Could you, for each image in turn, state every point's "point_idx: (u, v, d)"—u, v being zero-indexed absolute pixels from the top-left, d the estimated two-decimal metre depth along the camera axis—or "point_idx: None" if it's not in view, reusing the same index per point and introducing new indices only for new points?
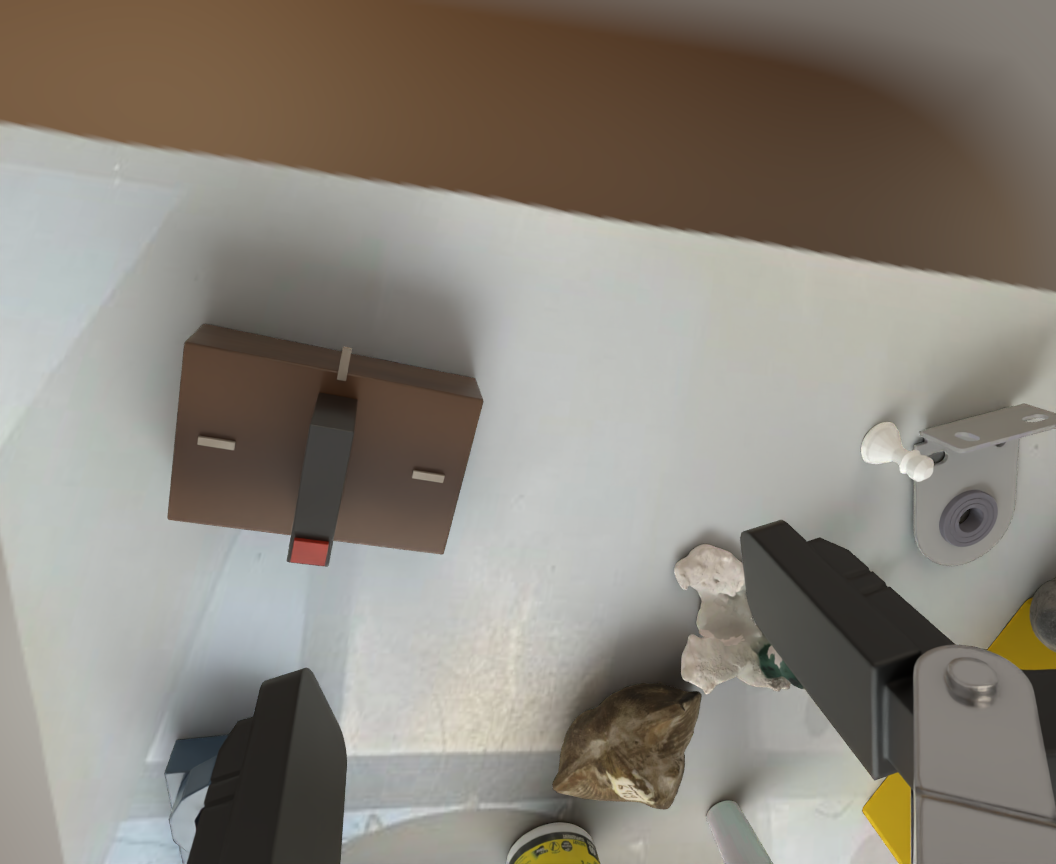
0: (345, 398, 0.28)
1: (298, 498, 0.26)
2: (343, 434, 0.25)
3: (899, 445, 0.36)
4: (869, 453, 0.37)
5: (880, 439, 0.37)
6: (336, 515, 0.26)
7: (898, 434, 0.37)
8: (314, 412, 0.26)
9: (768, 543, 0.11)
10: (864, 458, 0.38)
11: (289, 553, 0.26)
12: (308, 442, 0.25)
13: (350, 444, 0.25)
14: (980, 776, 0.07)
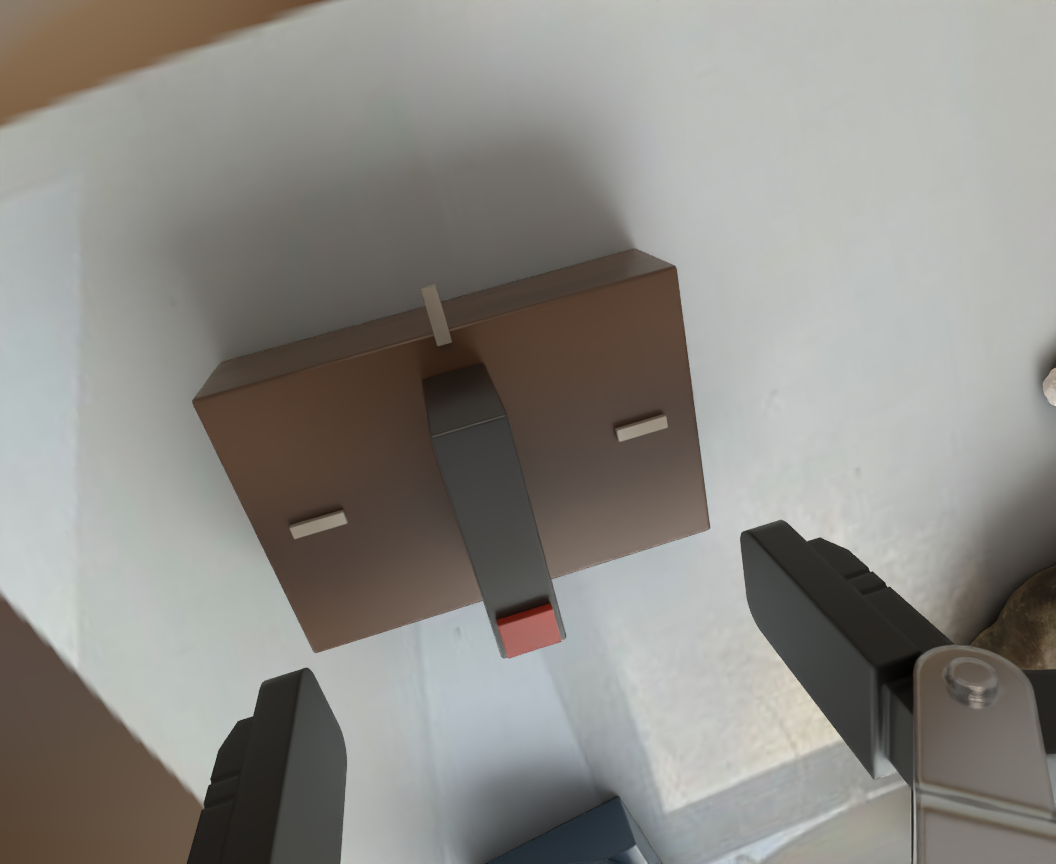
0: (464, 369, 0.16)
1: (472, 561, 0.15)
2: (492, 428, 0.13)
3: None
4: None
5: None
6: (543, 559, 0.15)
7: None
8: (428, 413, 0.14)
9: (768, 543, 0.11)
10: None
11: (500, 645, 0.16)
12: (442, 467, 0.14)
13: (511, 438, 0.14)
14: (980, 777, 0.07)
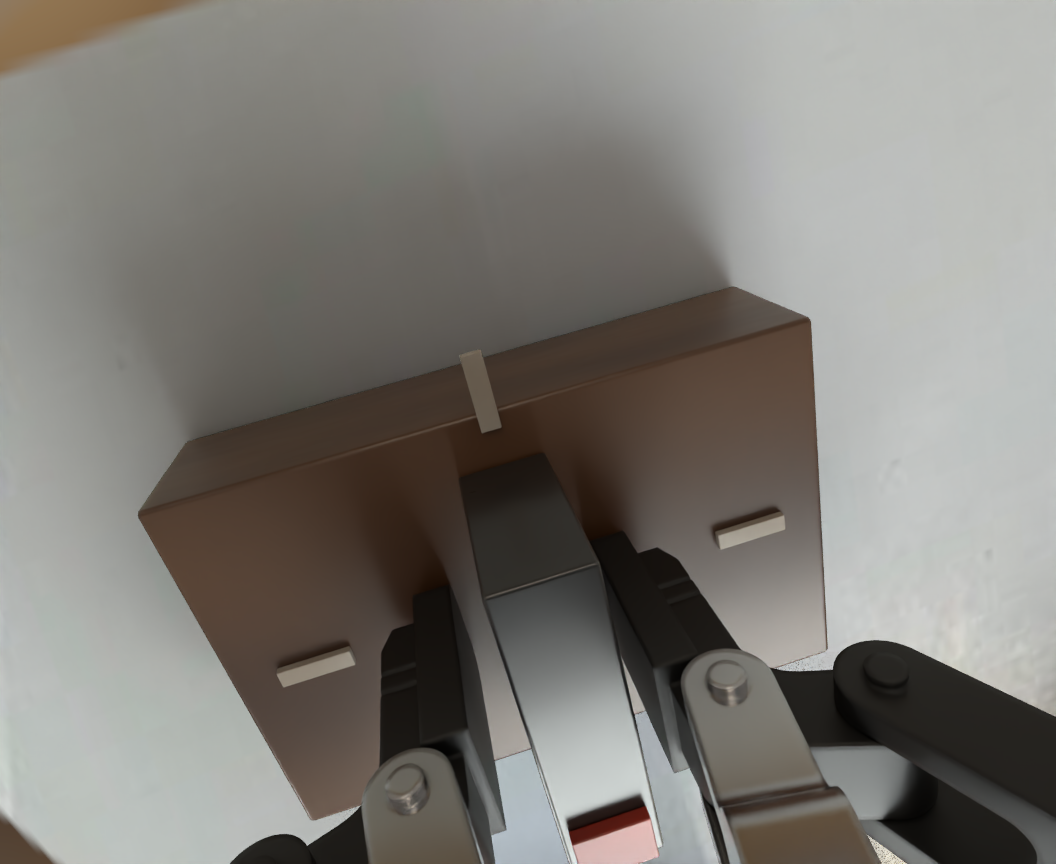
0: (518, 464, 0.12)
1: (538, 760, 0.10)
2: (577, 582, 0.09)
3: None
4: None
5: None
6: (639, 751, 0.10)
7: None
8: (475, 546, 0.10)
9: (603, 552, 0.12)
10: None
11: (572, 861, 0.11)
12: (500, 640, 0.09)
13: (603, 595, 0.09)
14: (762, 770, 0.08)
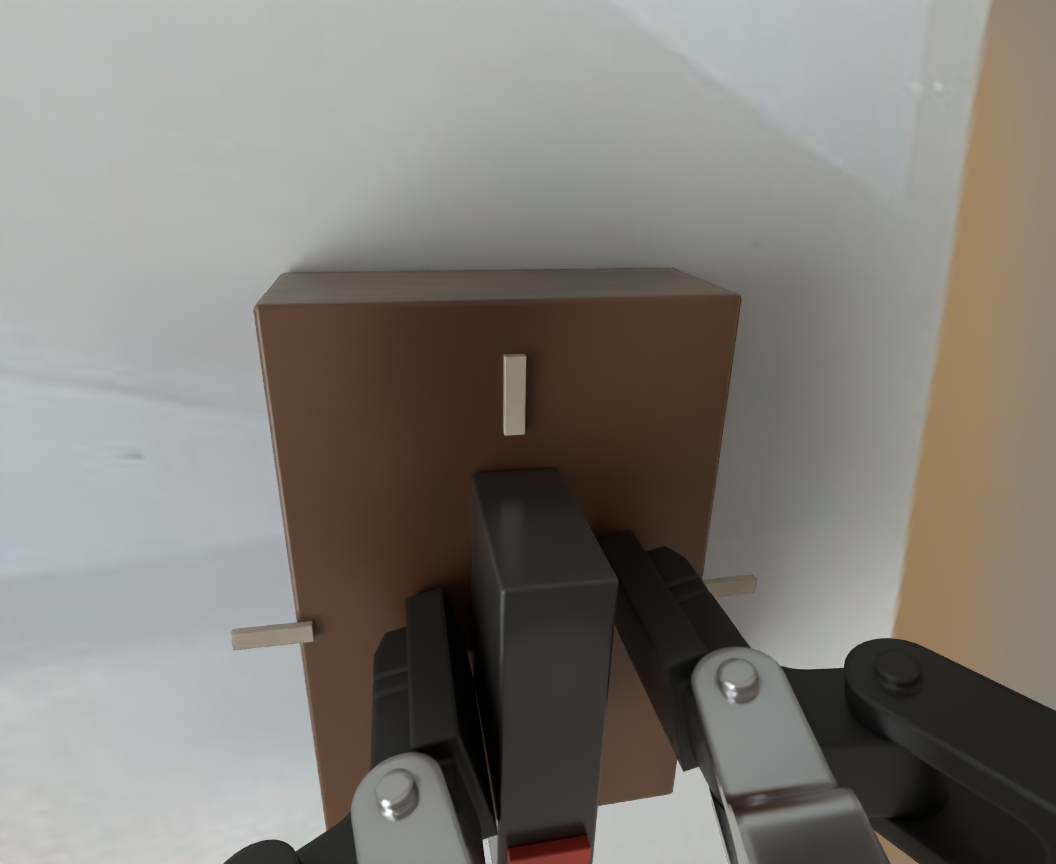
0: (533, 473, 0.12)
1: (501, 767, 0.10)
2: (592, 595, 0.09)
3: None
4: None
5: None
6: (597, 778, 0.10)
7: None
8: (491, 541, 0.10)
9: (610, 551, 0.12)
10: None
11: None
12: (505, 637, 0.09)
13: (613, 613, 0.09)
14: (772, 769, 0.08)
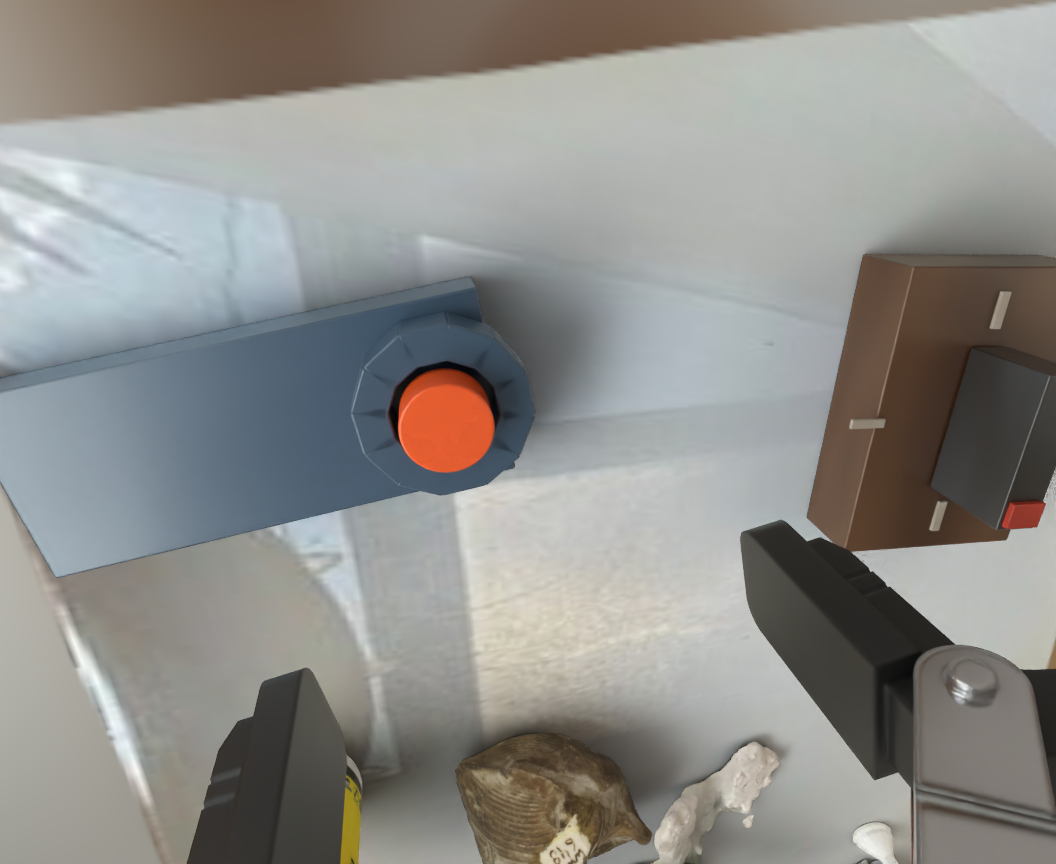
0: (1000, 347, 0.26)
1: (1022, 459, 0.24)
2: None
3: (893, 855, 0.40)
4: (870, 835, 0.41)
5: (886, 837, 0.41)
6: (1053, 470, 0.24)
7: None
8: (1020, 364, 0.24)
9: (768, 543, 0.11)
10: (859, 833, 0.41)
11: (1000, 520, 0.25)
12: (1045, 396, 0.23)
13: None
14: (980, 777, 0.07)
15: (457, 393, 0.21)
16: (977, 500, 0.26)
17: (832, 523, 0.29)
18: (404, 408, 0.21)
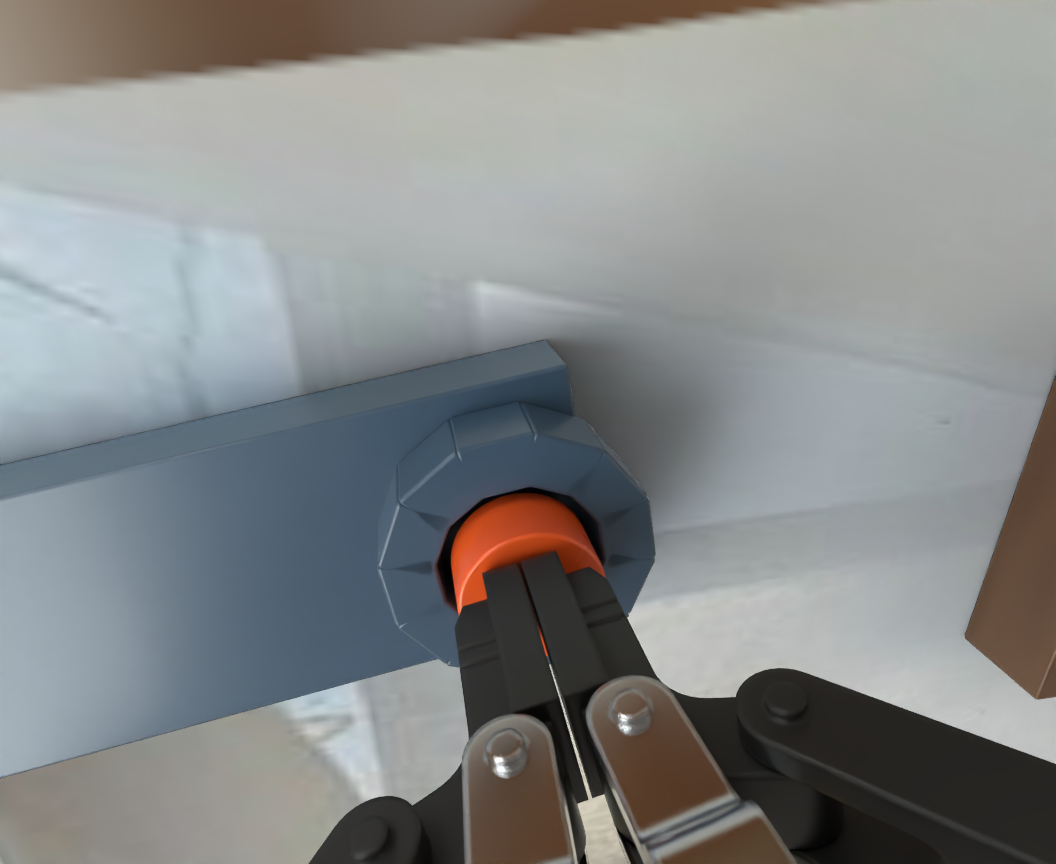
0: None
1: None
2: None
3: None
4: None
5: None
6: None
7: None
8: None
9: (532, 572, 0.12)
10: None
11: None
12: None
13: None
14: (677, 796, 0.08)
15: (553, 546, 0.13)
16: None
17: (1014, 656, 0.22)
18: (468, 571, 0.13)
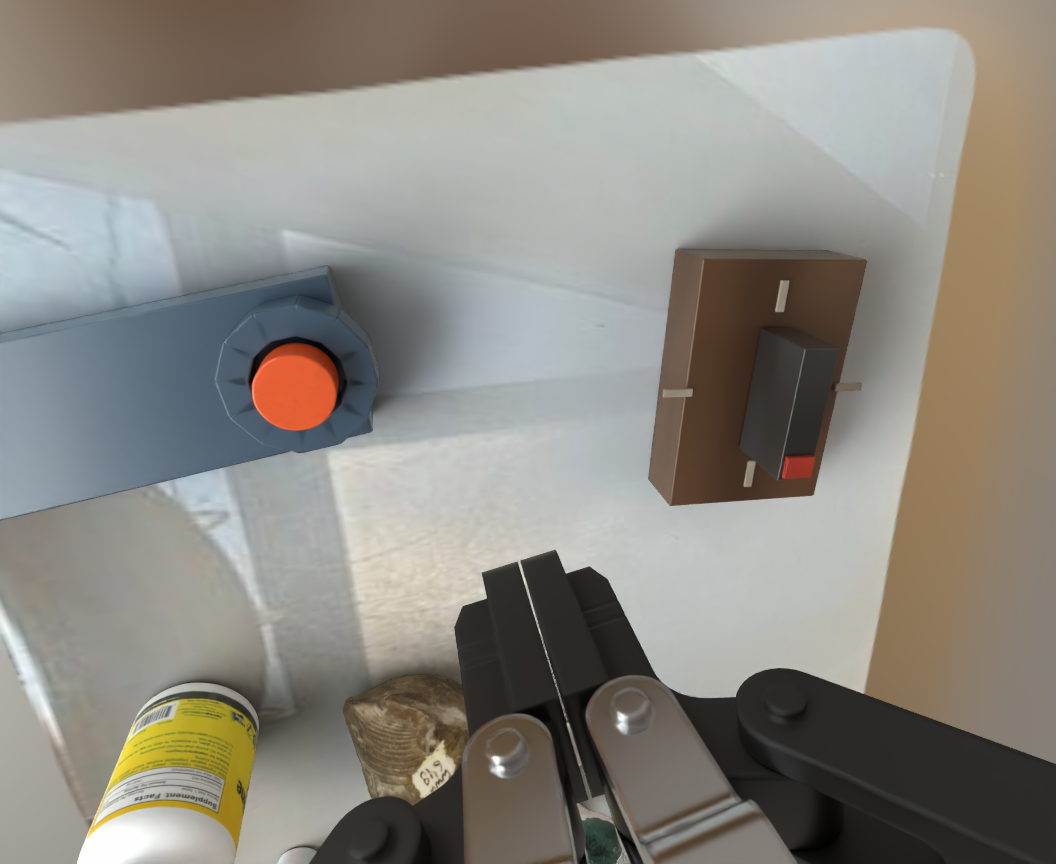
0: (784, 328, 0.30)
1: (791, 419, 0.28)
2: (831, 353, 0.28)
3: None
4: None
5: None
6: (820, 429, 0.29)
7: None
8: (789, 340, 0.28)
9: (532, 572, 0.12)
10: None
11: (780, 472, 0.29)
12: (803, 365, 0.28)
13: (835, 360, 0.28)
14: (676, 796, 0.08)
15: (300, 362, 0.24)
16: (766, 456, 0.30)
17: (662, 481, 0.34)
18: (255, 375, 0.24)
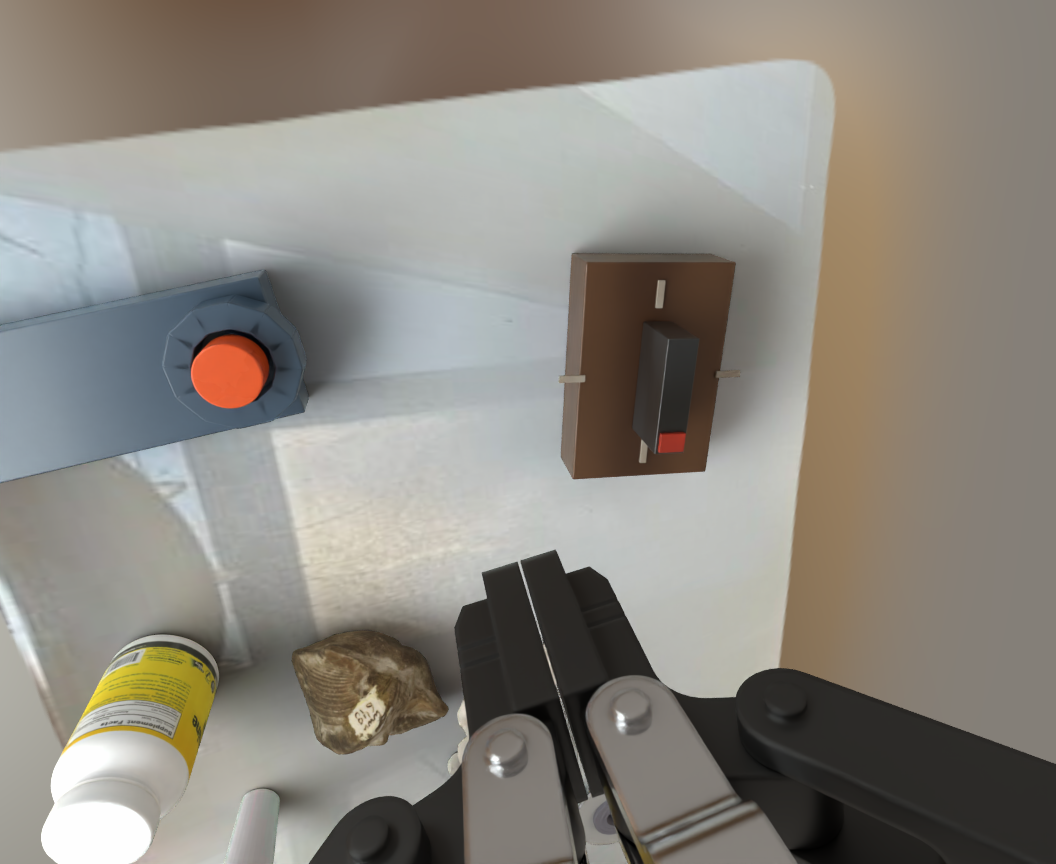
0: (664, 322, 0.35)
1: (661, 400, 0.33)
2: (692, 342, 0.32)
3: None
4: None
5: None
6: (689, 409, 0.33)
7: None
8: (659, 332, 0.33)
9: (532, 573, 0.12)
10: None
11: (656, 447, 0.34)
12: (667, 353, 0.32)
13: (697, 349, 0.32)
14: (676, 796, 0.08)
15: (231, 350, 0.29)
16: (647, 434, 0.35)
17: (568, 458, 0.38)
18: (193, 361, 0.29)
